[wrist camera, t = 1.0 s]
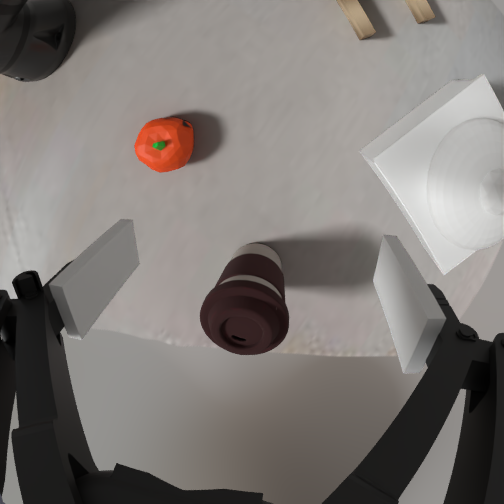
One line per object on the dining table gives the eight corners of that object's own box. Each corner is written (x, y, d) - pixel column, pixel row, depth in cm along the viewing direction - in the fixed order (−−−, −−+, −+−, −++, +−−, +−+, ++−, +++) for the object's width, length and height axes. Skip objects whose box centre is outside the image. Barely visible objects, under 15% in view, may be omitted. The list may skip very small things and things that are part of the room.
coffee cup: (262, 219, 43) (247, 279, 29) (304, 271, 45) (306, 343, 32) (209, 257, 46) (177, 322, 33) (251, 302, 49) (236, 375, 36)
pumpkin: (142, 124, 39) (118, 123, 33) (197, 112, 37) (179, 108, 31) (149, 174, 41) (126, 180, 35) (203, 165, 40) (187, 170, 34)
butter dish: (423, 246, 41) (467, 312, 27) (355, 147, 37) (392, 176, 23) (504, 181, 34) (569, 222, 20) (449, 76, 30) (521, 74, 16)
